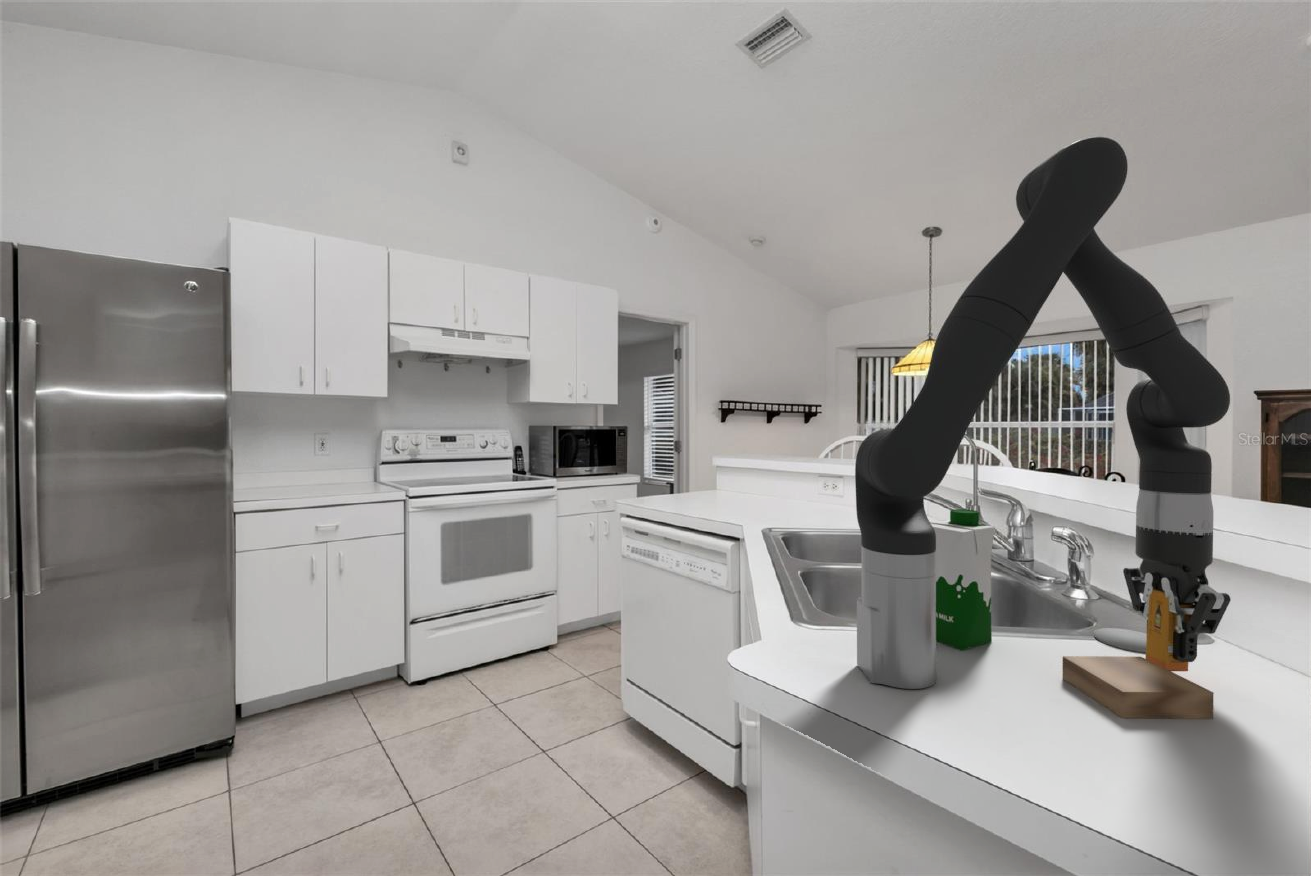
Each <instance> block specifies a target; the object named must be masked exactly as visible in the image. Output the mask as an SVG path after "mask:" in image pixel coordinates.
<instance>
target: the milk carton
mask: <svg viewBox="0 0 1311 876" xmlns="http://www.w3.org/2000/svg"><path fill="white" fill-rule="evenodd" d="M949 513H950V514H949V519H948V520H946V519H945V520H940V521H939V520H938V521H929V522H930V523H931V525H932V526H933V528H934V530H935V533H936V642H939V643H942V644H944V645H948V646H949V647H950V646H951V647H953V648H955V649H958V650H960V651H965V650H969V649H972V648H975V647H979V646H981V645H982V646H983V645H985V644H988V643H992V642H993V641H992V640H993V639H992V637H993V636H992V634H993V633H992V552H993V550H992V549H993V544H994V535H995V529H996V528H995V526H991V525H988V524H982V523H980V512H979V511H977V510H972V509H961V508H960V509H959V508H958V509H950V511H949Z"/></svg>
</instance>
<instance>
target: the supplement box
mask: <svg viewBox="0 0 1311 876" xmlns="http://www.w3.org/2000/svg"><path fill="white" fill-rule="evenodd" d="M1169 598H1170V596H1169V597H1167V598H1166V596H1165V592H1163V591H1160V590H1153V591H1152V594H1151V593H1150V596H1149V609H1148V625H1147V624H1146V634H1147V642H1146V653H1145V657H1144V658H1145V659H1147V660H1149V661H1151V662H1153V663H1155V664H1157V665H1159V666H1161V667H1163V668H1165V669H1167V670H1169V671H1171V672H1189V662H1180V661H1178V660H1175V659H1174V658H1173V631H1175V629H1174V623H1173V615H1172V614H1171V613H1170V612H1169ZM1179 606H1180V607H1181V608H1189V607H1190V606H1191V604H1190V605H1179ZM1184 619H1185V623H1188V622H1189V619H1188V615H1187V614H1185V615H1184Z"/></svg>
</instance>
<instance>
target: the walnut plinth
mask: <svg viewBox="0 0 1311 876" xmlns="http://www.w3.org/2000/svg"><path fill="white" fill-rule="evenodd" d="M1062 680H1064V681H1065V682H1066V683H1068V684H1070V685H1071V686H1073V687H1075V688H1076V689H1077V690H1079V691H1080V692H1083V694H1086V695H1087V696H1088V697H1090V698H1092V699H1093V700H1095V701H1096V702H1097V703H1099V704H1100V705H1102V706H1103V707H1105V708H1107V709H1108V710H1110V711H1111V712H1113V713H1114V714H1116V715H1117V716H1119V717H1121V718H1122V719H1204V720H1205V719H1211V720H1212V719H1213V720H1214V692H1213V691H1211V690H1209V689H1207V688H1205V687H1203V686H1201V685H1199V684H1198V683H1195V682H1193V681H1191V680H1189V679H1187V678H1185V677H1183V676H1181V675H1179V674H1177V673H1175V672H1174V671H1169V670H1167V669H1165V668H1163V667H1161V666H1159V665H1157V664H1155V663H1153V662H1151V661H1149V660H1147V659H1145V657H1142V656H1119V655H1118V656H1115V655H1114V656H1108V655H1107V656H1105V655H1104V656H1099V655H1098V656H1090V655H1089V656H1087V655H1086V656H1085V655H1083V656H1082V655H1081V656H1080V655H1079V656H1075V655H1074V656H1073V655H1072V656H1069V655H1063V656H1062Z"/></svg>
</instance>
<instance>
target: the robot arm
mask: <svg viewBox="0 0 1311 876" xmlns="http://www.w3.org/2000/svg"><path fill="white" fill-rule="evenodd" d="M1128 166H1129V165H1128V158H1127V155H1126V153H1125V150H1124V149H1123V147H1122V146H1121V144H1119V142H1117V141H1116V140H1115V139H1112V138H1109V137H1105V136H1090V137H1086V138H1082V139H1079V140H1077V141H1075V142H1073V143H1070V144H1068V145H1066V146H1064V147H1062V148H1061V149H1060V150H1058V151H1057V152H1056V153H1054V154H1053V155H1052V156H1050V157H1048V158H1047V159H1046V160H1044V161H1043V162H1042V163H1040V164H1039V165H1037V166H1036V167H1035V168H1034V169H1032V170H1031V171H1029V173H1028V174H1026V175H1025V176H1024V178H1023V179H1022V181H1021V182H1020V183H1019V185H1018V188H1017V190H1016V194H1015V195H1016V196H1015V203H1016V209H1017V211H1018V214H1019V216H1020V218H1021V219H1022V221H1023V223H1022V224H1021V226H1020V227H1019V228H1018V230H1017V232H1016V233H1015V234H1013V236H1012V237H1011V238H1010V239H1009V240H1008V242H1006V243H1005V245H1004V246H1003V247H1002V248H1001V249H1000V250H999V251H998V252H997V253H996V254H995V256H993V257H992V258H991V260H989V262H988V263H987V264H986V265H984V267H983V268H982V269H981V270H980V271H979V272H978V274H977V275H976V276H975V277H974V278H973V279H972V281H971V282H970V283H969V284H968V285H967V286H966V288H965V289H964V291H963V292H962V293H961V295H960V296H959V298H958V299H957V302H955V304H954V306H953V307H952V309H951V311H950V312H949V314H948V316H947V318H945V319H946V320H945V321H944V322H943V324H942V326H941V328H940V330H939V333H938V334H937V337H936V339H935V343H934V346H933V349H932V353H931V358H930V362H929V366H928V370H927V375H926V378H925V380H924V383H923V385H922V386H921V389H920V391H919V392H918V394H917V396H916V397H915V399H914V400H913V402H912V403H911V405H910V407H909V408H908V409H907V411H906V412H905V414H904V415H903V416H902V418H901V419H900V420H899V422H898V423H897V425H896V426H895V427H894V428H884V429H883V428H882V429H879V430H876V431H874V432H872V433H870V434H868V436H866V437H865V438H864V439H863V441H862V442H861V443H860V445H859V447H858V450H857V453H856V456H855V468H854V470H855V471H854V474H855V475H854V477H855V506H856V508H855V509H856V519H857V525H858V527H859V531H860V537H861V538H860V539H861V540H860V541H861V596H859V597H857V598H856V664H857V666H858V668H859V669H860V670H861V671H862V673H863V674H864V675H865V677H866V678H867V679H868V680H869V682H870V683H871V684H882V685H886V686H889V687H893V688H896V689H897V688H898V689H904V690H905V689H906V690H916V689H917V690H918V689H925V688H930V687H931V686H933V685H934V684H936V682H937V663H938V662H937V641H936V533H935V530H934V528H933V526H932V525H931V523H930V522H931V521H930V519H929V518H928V516H927V513H926V510H925V509H926V508H925V501H924V500H925V499H924V497H926V496H928V495H929V494H931V493H933V492H934V491H935V490H936V489H937V487H938V486H939V485H940V484H941V483H942V481H943V480H944V478H945V477H946V475H947V472H948V470H949V468H950V466H951V464H952V462H953V460H954V459H955V456H956V454H957V451H958V450H959V447H960V445H961V443H962V440H963V439H964V437H965V435H966V433H967V430H968V429H969V426H971V425H970V424H971V422H972V421H973V419H974V417H975V415H976V413H977V412H978V410H979V409H980V407H981V405H982V404H983V402H984V401H985V399H986V398H987V396H988V395H989V393H990V391H991V390H992V389H993V387H994V385H995V384H996V382H997V380H998V379H999V377H1000V376H1001V374H1002V372H1003V371H1004V369H1005V367H1006V366H1007V364H1008V363H1009V361H1010V360H1011V358H1012V357H1013V356H1014V354H1015V353H1016V351H1017V349H1018V347H1019V346H1020V345H1021V343H1022V341H1023V340H1024V338H1025V336H1026V335H1027V333H1028V332H1029V330H1030V328H1031V327H1032V325H1033V323H1034V322H1035V320H1036V318H1037V316H1038V314H1039V312H1040V311H1041V310H1042V308H1043V305H1045V302H1046V301H1047V300H1048V298H1049V296H1050V295H1051V293H1052V292H1053V290H1054V289H1055V287H1056V285H1057V283H1058V282H1059V280H1060V278H1061V276H1062V274H1064V275H1065V276H1066V277H1067V279H1068V280H1069V282H1071V284H1072V286H1074V288H1075V290H1076V291H1077V293H1079V295H1080V297H1081V299H1083V301H1084V303H1085V304H1086V306H1087V308H1088V309H1089V310H1090V313H1091V315H1092V316H1093V318H1094V319H1095V323H1097V326H1098V327H1099V329H1100V331H1101V333H1102V335H1103V337H1104V339H1105V341H1106V342H1107V345H1108V347H1109V348H1110V350H1111V352H1112V354H1113V356H1114V357H1115V360H1116V361H1117V362H1118V363H1119V364H1120V365H1121V366H1123V367H1125V368H1129V369H1133V370H1138V371H1140V372H1142V373H1144V374H1146V376H1148V377H1147V378H1143V379H1142V380H1140V381H1139V382H1138V383H1136V384H1135V385H1134V386H1133V388H1132V389H1131V390H1130V392H1129V395H1128V396H1127V401H1126V408H1125V409H1126V411H1125V412H1126V416H1127V422H1128V426H1129V429H1130V433H1131V436H1132V439H1133V440H1132V441H1133V444H1134V446H1135V450H1136V452H1137V454H1138V458H1139V472H1138V489H1139V490H1138V495H1137V500H1136V501H1137V502H1136V508H1135V509H1136V510H1135V513H1136V514H1135V515H1136V516H1135V550H1134V551H1135V555H1136V557H1138V558H1139V559H1141V560H1142V561H1141V563H1140V565H1139V567H1125V568H1123V572H1122V573H1123V575H1124V579H1125V580H1124V581H1125V583H1126V588H1127V590H1128V594H1129V597H1130V601H1131V605H1132V608H1133V610H1134V611H1135V612H1140V614H1141V613H1142V615H1143V618H1144V620H1146V626H1147V625H1148V609H1149V596H1150V593H1151V594H1152V591H1153V590H1160V591H1163V592H1165V596H1166V598H1167V597H1169V596H1170V598H1169V612H1170V613H1171V614H1172V615H1173V623H1174V629H1175V631H1173V658H1174V659H1175V660H1178V661H1180V662H1188V663H1193V662H1195V661H1196V659H1197V657H1198V637H1199V635H1200V634H1208V635H1211V634H1212V635H1213V634H1215V633H1216V632H1217V629H1218V627H1219V626H1220V622H1221V621H1222V618H1223V617H1224V615H1225V613H1226V611H1227V609H1228V607H1229V605H1230V603H1231V596H1230V594H1228V593H1227V592H1218V591H1216V590H1215V589H1214V588H1212V587H1211V586H1210V585H1209V580H1208V578H1207V575H1206V569H1207V568H1208V567H1209V566H1210V565H1211V564H1213V560H1214V558H1213V557H1214V554H1213V552H1214V507H1213V500H1212V477H1213V476H1212V469H1213V465H1212V457H1211V455H1210V453H1209V451H1207V450H1205V449H1203V448H1201V447H1197V446H1194V445H1191V443H1189V441H1188V439H1187V436H1186V434H1185V432H1184V431H1185V430H1184V428H1185V429H1186V428H1192V429H1193V428H1204V427H1208V426H1212V425H1214V424H1216V423H1218V422H1220V421H1221V420H1222V419H1223V418H1224V417H1225V416H1226V414H1227V413H1228V411H1229V407H1230V406H1231V405H1230V404H1231V394H1230V389H1229V386H1228V385H1227V382H1226V380H1225V378H1224V377H1223V375H1222V374H1221V373H1220V372H1219V371H1218V370H1217V368H1215V366H1213V365H1212V363H1211V362H1210V361H1209V360H1208V359H1207V358H1206V357H1205V356H1204V355H1203V354H1202V353H1201V352H1200V351H1199V350H1198V349H1197V348H1196V347H1195V346H1194V345H1193V344H1192V343H1191V342H1190V341H1188V340H1187V339H1186V338H1185V337H1184V336H1183V335H1182V333H1181V332H1182V331H1180V328H1179V326H1178V325H1177V322H1176V320H1175V319H1174V316H1173V315H1172V313H1171V311H1170V309H1169V307H1168V304H1167V302H1166V301H1165V300H1164V298H1163V297H1162V295H1161V293H1160V292H1159V291H1158V289H1156V287H1155V285H1153V284H1152V283H1151V282H1150V281H1149V280H1148V279H1147V278H1146V277H1144V275H1142V274H1141V273H1140V272H1138V271H1137V270H1136V269H1134V268H1133V267H1131V266H1130V265H1129V264H1127V263H1126V262H1125V261H1123V260H1122V259H1121V258H1120V257H1118V256H1117V255H1116V254H1114V253H1113V252H1112V251H1111V250H1110V248H1108V247H1107V246H1106V245H1105V243H1104V242H1103V241H1102V240H1101V238H1100V237H1099V235H1098V233H1097V232H1096V230H1095V227H1096V225H1098V223H1099V222H1100V221H1101V219H1102V218H1103V217H1104V216H1105V214H1106V213H1107V212H1108V210H1109V209H1110V208H1111V206H1112V205H1113V204H1114V203H1115V201H1116V200H1117V198H1118V197H1119V196H1120V194H1121V193H1122V190H1123V188H1124V186H1125V184H1126V181H1127V175H1128V168H1129V167H1128ZM1140 594H1142V598H1141V595H1140ZM1190 604H1191V606H1190V607H1189V608H1181V607H1180V606H1179V605H1190ZM1185 614H1187V615H1188V619H1189V622H1188V623H1185V619H1184V615H1185Z"/></svg>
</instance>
